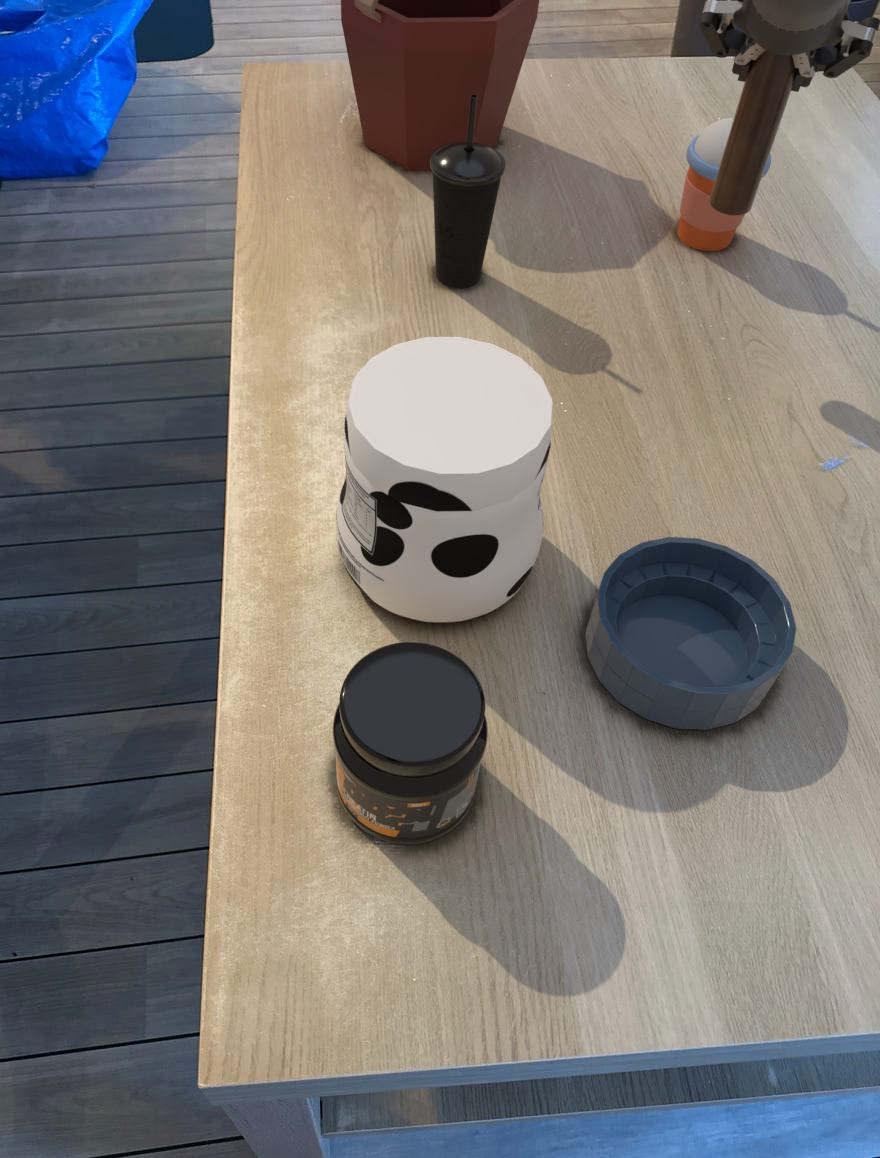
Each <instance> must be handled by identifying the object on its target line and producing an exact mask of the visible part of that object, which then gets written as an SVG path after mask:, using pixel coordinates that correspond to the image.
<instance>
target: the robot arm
mask: <svg viewBox="0 0 880 1158" xmlns="http://www.w3.org/2000/svg"><path fill="white" fill-rule="evenodd" d="M851 2H852V0H706V1H705V3H704V6H703V10H702V12H701V16H700V21H699V23H698V26H699V28H700V30H701V32H702V34H703V36H704V39H705V40H706V42H707V44H708V47H709V48H710V51H711V52H712V55H713V56H714V57H717V58H720V59H724V58H727V57H728V56H729V55H730V56H732V57H733V59H732V61H733V64H732V68H731V72H732V74H733V75H738V77H737V82H743V83H745V80H746V76H747V74H748V71H749V67H750V64H751V61H752V60H756V59H757V58H758V57H759V56H760V55H761V54H762V53H763V52H764V51H765V50H766V51H769V52H771V53H774V54H778V55H792V57H793V61H794V65H795V68H798V71H797V74H796V77H795V80H794V83H793V86H792V89H791V92H796V93H799V92H800V89H801V88H808V87H810V85H811V83H812V80H813V78H814V77H815V75H816V73H819V72H822V75H823V76H824V77H825V78H827V79H836V78H838V77H840V76H841V75H842V74H845V73H846V72H848V71H849V70H850V69H852V68H854V67H855V66H856V65H858V64H859V63H861V62H863V61H864V60H865V59H867V58H868V57H870V56H871V53H872V50H873V47H874V43H875V40H876V37H877V34H878V32H879V28H880V19H879V18H878V17H875V16H868V17H865V18H864V19H863V20H861V21H860V22H859V21H851V20H849V18H850V16H849V11H848V8H849V6H850V4H851ZM737 28H738V29H737ZM829 45H831V46H829Z"/></svg>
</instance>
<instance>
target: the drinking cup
mask: <svg viewBox="0 0 880 1158" xmlns="http://www.w3.org/2000/svg"><path fill="white" fill-rule="evenodd" d="M476 107H477V95H475V94H472V95H471V96H470V106H469V118H468V129H467V141H466V142H453V143H449V144H445V145H443V146H441V147H439V148H437V149H436V150H435V151H434V152H433V153H432V155H431V158H430V167H431V170H430V171H432V189H433V190H432V193H433V195H432V196H433V220H434V222H433V223H434V248H435V249H434V250H435V251H434V253H435V255H434V256H435V257H434V258H435V277H436V279H437V281H438V282H439V283H440V284H441V285H444V286H445V287H448V288H451V289H456V290H457V289H458V290H459V289H460V290H463V289H468V288H472V287H474V286H475V285H477V284H478V283H479V281H480V279H481V276H482V270H483V265H484V262H485V261H484V260H485V255H486V251H487V246H488V241H489V237H490V233H491V227H492V224H493V217H494V213H495V209H496V203H497V200H498V194H499V189H500V184H501V181H502V177H503V176H504V174H505V172H506V167H507V163H506V162H507V161H506V159H505V157H504V155H503V154H502V153H501V152H500V151H499V150H497V149H496V148H494V147H493V148H492V147H490V146H487V145H484V144H481V143H476V142H473V139H474V128H475V117H476Z"/></svg>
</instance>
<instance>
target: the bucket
mask: <svg viewBox="0 0 880 1158" xmlns="http://www.w3.org/2000/svg"><path fill="white" fill-rule="evenodd" d="M539 6H540V0H340V21H341V26H342V31H343V37H344V42H345V48H346V53H347V58H348V59H347V60H348V63H349V69H350V74H351V75H350V76H351V78H352V79H351V80H352V83H353V84H352V85H353V90H354V95H355V100H356V105H357V106H356V107H357V112H358V115H359V116H358V117H359V122H360V128H361V132H362V138H363V144H364V147H366V148H367V149H369V150H371V151H372V152H374V153H376V154H378V155H380V156H381V157H382V158H385V159H386V160H388V161H390V162H392V163H393V164H395V165H396V166H399V167H400V168H402V169H404V170H405V171H408V172H409V171H432V170H431V167H430V158H431V155H432V153H433V152H434V151H435V150H436V149H437V148H439V147H441V146H443V145H445V144H449V143H453V142H466V141H467V129H468V118H469V106H470V96H471V95H472V94H475V95H477V107H476V117H475V128H474V139H473V142H476V143H481V144H484V145H487V146H490V147H492V148H494V147H495V146H497V144H498V143H499V140H500V137H501V134H502V130H503V128H504V124H505V121H506V117H507V114H508V111H509V109H510V105H511V102H512V98H513V95H514V92H515V89H516V86H517V82H518V79H519V76H520V73H521V70H522V67H523V64H524V60H525V57H526V55H527V51H528V48H529V45H530V41H531V38H532V36H533V31H534V29H535V26H536V22H537V20H538V15H539V14H538V13H539Z"/></svg>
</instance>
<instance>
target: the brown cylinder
mask: <svg viewBox="0 0 880 1158" xmlns="http://www.w3.org/2000/svg"><path fill="white" fill-rule="evenodd" d="M797 71H798V68H795V65H794V61H793V57H792V55H778V54H774V53H771V52H769V51H766V50H765V51H764V52H763V53H762V54H761V55H760V56H759V57H758V58H757V59H756V60H752V61H751V64H750V67H749V71H748V74H747V76H746V80H745V82H743V86H742V90H741V94H740V97H739V100H738V103H737V106H736V110H735V113H734V116H733V118H734V120H733V123H732V126H731V130H730V133H729V137H728V140H727V143H726V147H725V150H724V153H723V157H722V160H721V163H720V167H719V170H718V173H717V177H716V180H715V183H714V187H713V190H712V193H711V197H710V205H711V206H712V207H713V208H714V209H715V210H717V211H718V212H720V213H723V214H727V215H735V216H737V215H743V214H745V215H746V214H748V213H749V212H750V211H751V210H752V207H753V204H754V202H755V199H756V197H757V193H758V190H759V187H760V184H761V182H762V175H763V172H764V169H765V166H766V163H767V160H768V158H769V155H771V151H772V149H773V145H774V143H775V140H776V136H777V134H778V131H779V129H780V125H781V122H782V119H783V115H784V113H785V110H786V107H787V104H788V102H789V98H790V95H791V92H792V91H791V89H792V86H793V83H794V80H795V77H796V74H797Z"/></svg>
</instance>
